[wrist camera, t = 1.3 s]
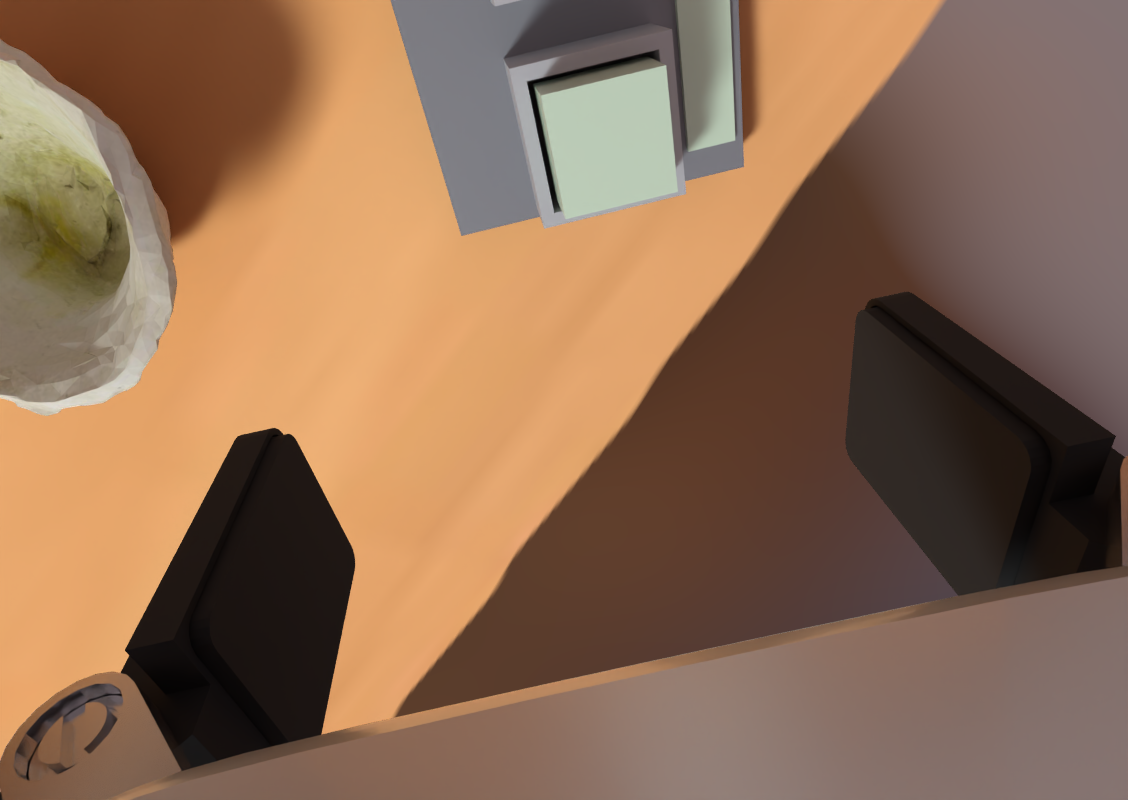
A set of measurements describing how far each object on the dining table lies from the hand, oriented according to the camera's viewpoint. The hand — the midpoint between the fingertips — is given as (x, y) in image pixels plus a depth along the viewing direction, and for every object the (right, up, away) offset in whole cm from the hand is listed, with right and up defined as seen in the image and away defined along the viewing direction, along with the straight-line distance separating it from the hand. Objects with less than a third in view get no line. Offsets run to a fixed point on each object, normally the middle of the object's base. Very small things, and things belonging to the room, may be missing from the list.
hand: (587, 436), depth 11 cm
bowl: (-24, +11, +21) cm, 34 cm away
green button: (+1, +13, +18) cm, 22 cm away
